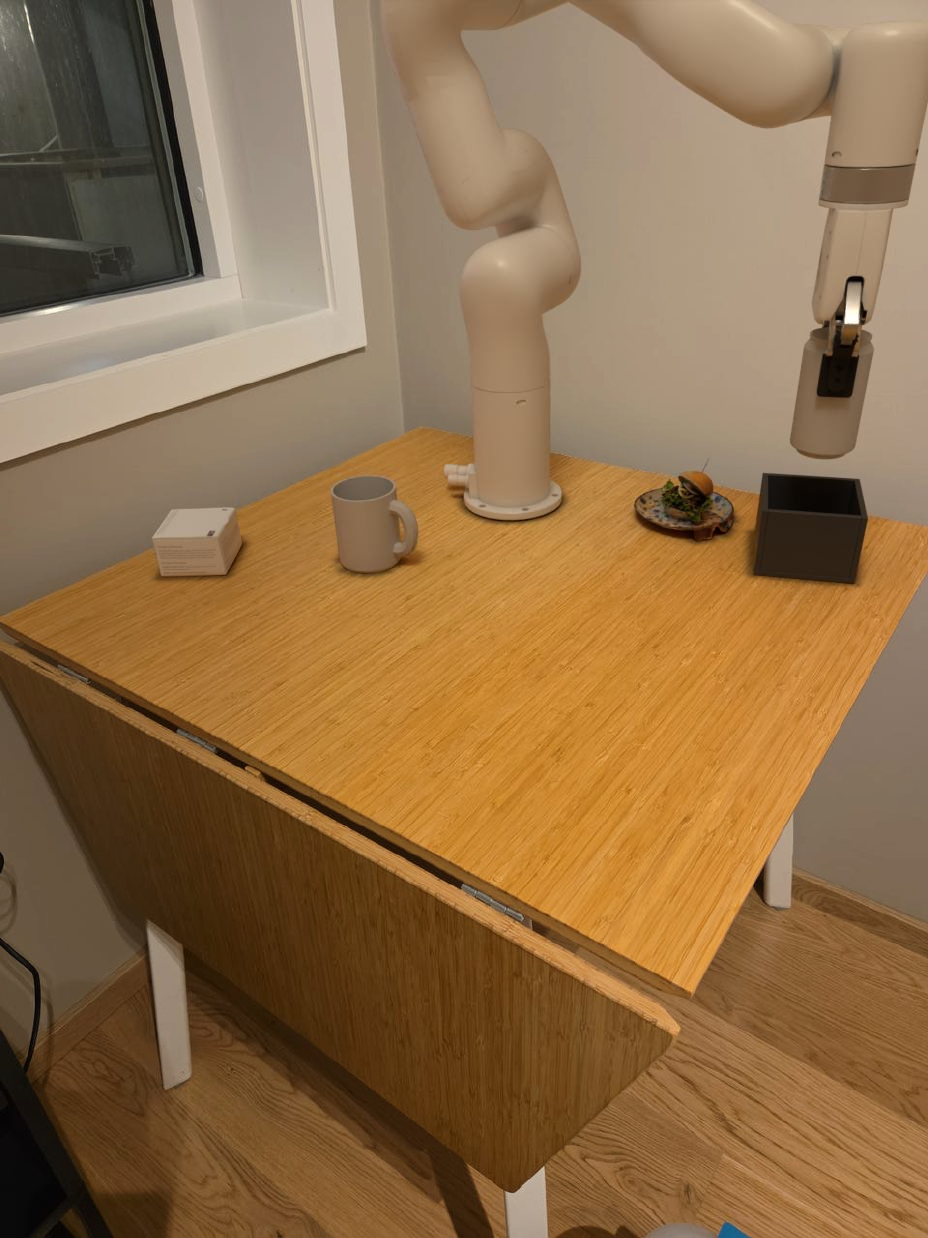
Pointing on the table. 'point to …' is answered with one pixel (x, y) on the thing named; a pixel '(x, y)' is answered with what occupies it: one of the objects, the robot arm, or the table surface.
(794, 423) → the beverage can
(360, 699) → the table surface
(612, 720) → the table surface
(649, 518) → the burger on plate
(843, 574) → the bin
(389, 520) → the cup
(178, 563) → the small box
